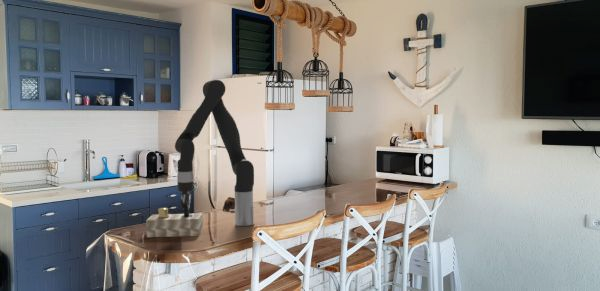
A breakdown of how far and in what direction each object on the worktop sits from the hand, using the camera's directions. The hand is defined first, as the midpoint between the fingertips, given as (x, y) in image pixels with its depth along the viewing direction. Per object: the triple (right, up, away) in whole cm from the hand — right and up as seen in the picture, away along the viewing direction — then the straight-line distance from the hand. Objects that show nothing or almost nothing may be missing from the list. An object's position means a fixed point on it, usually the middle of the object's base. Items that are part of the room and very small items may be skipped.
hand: (186, 216), depth 228 cm
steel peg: (0, -8, +1) cm, 8 cm away
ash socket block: (-5, -8, 0) cm, 10 cm away
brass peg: (-11, -4, 0) cm, 12 cm away
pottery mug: (+14, -4, +53) cm, 55 cm away
